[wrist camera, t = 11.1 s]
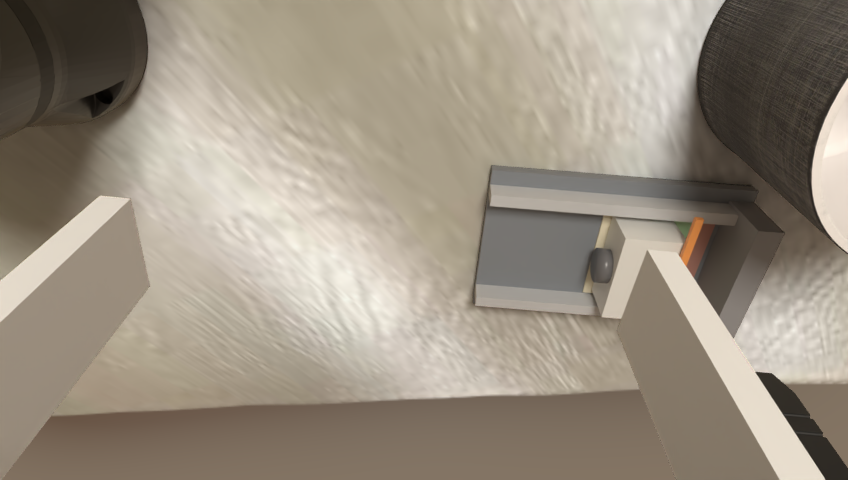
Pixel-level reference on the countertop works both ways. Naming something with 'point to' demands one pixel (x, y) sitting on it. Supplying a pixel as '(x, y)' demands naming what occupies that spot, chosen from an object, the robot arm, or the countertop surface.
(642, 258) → the cream box orange strip
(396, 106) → the countertop surface
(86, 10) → the robot arm
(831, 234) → the planter
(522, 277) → the gauge base
